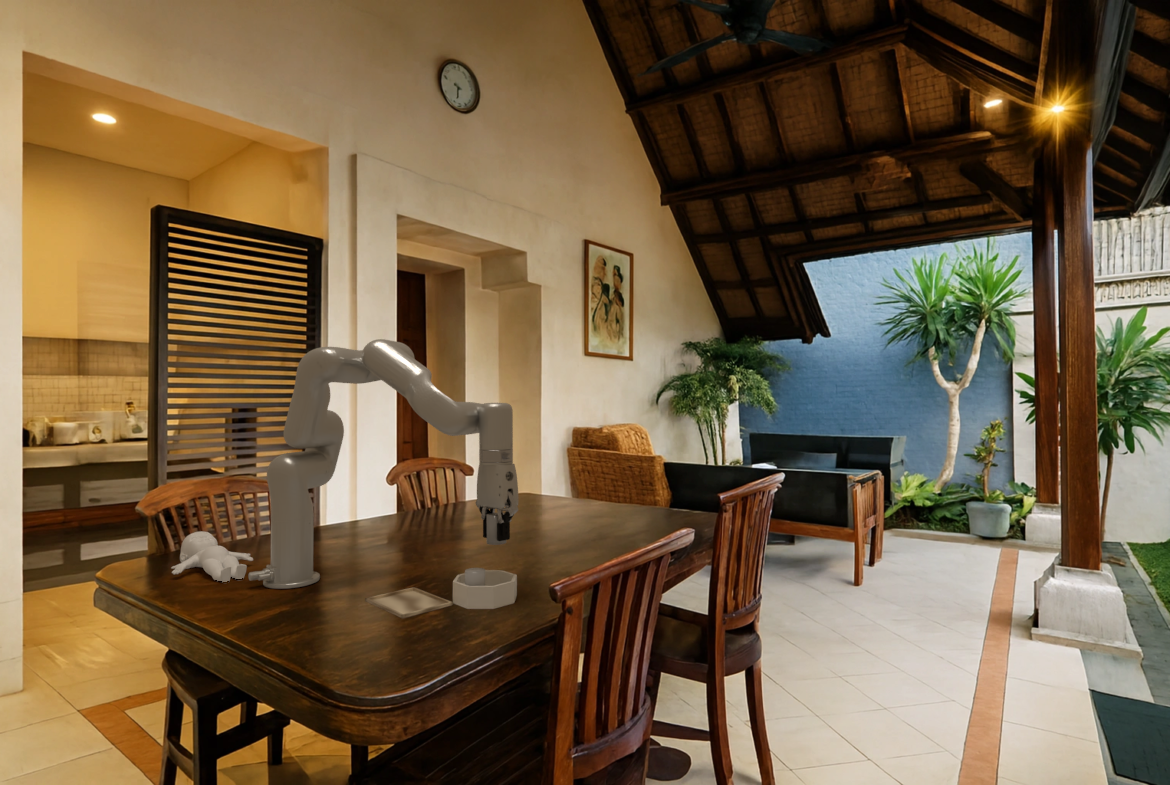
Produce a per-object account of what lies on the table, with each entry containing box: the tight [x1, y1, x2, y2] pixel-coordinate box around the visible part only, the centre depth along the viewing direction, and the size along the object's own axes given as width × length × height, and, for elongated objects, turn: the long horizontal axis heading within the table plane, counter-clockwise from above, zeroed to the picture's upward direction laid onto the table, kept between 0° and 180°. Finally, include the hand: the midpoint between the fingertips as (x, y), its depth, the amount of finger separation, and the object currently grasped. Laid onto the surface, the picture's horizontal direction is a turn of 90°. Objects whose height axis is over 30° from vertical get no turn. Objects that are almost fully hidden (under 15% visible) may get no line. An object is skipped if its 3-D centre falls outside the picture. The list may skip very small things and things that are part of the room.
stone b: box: [486, 512, 507, 546], centre depth 144 cm, size 4×4×6 cm
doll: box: [170, 530, 254, 583], centre depth 167 cm, size 19×9×30 cm
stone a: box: [464, 567, 486, 586], centre depth 140 cm, size 4×4×6 cm
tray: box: [364, 586, 454, 619], centre depth 139 cm, size 12×16×1 cm
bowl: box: [452, 569, 518, 610], centre depth 142 cm, size 13×13×5 cm
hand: (496, 537), depth 144 cm, fingers closed on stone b, 4 cm apart
